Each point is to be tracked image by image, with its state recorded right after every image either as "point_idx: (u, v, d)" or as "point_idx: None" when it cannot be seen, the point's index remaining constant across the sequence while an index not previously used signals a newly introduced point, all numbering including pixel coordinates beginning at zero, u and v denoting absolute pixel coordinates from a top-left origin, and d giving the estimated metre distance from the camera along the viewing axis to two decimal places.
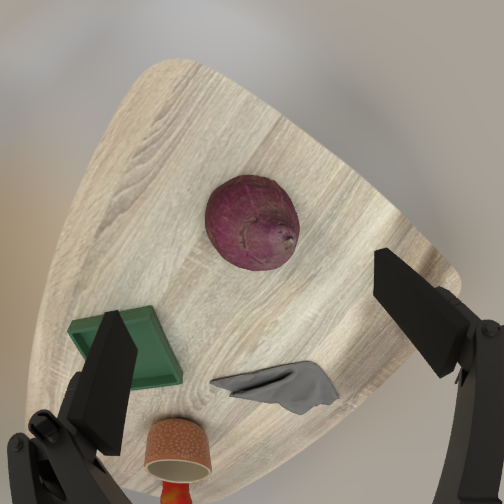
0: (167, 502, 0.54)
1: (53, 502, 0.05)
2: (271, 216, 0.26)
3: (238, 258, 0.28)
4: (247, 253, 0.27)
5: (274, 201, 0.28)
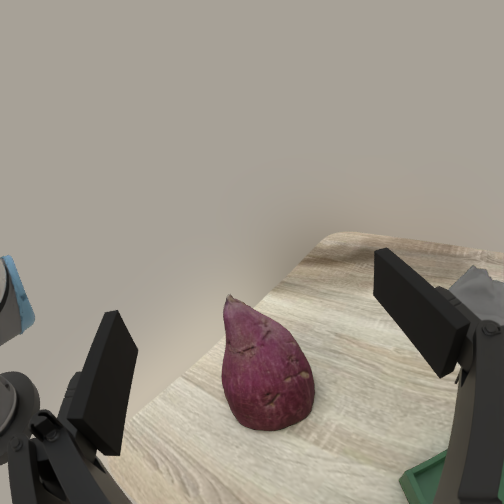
0: None
1: (53, 502, 0.05)
2: None
3: (273, 357, 0.26)
4: (259, 344, 0.26)
5: None
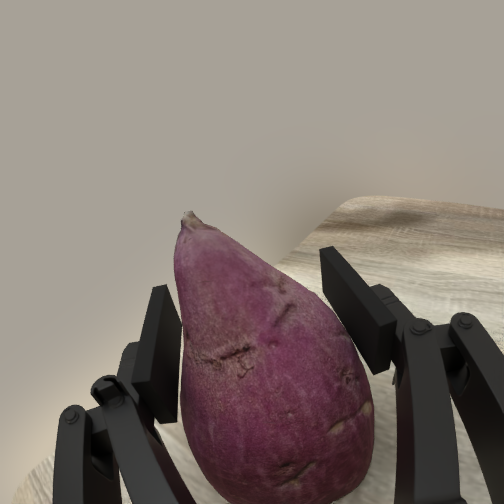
0: None
1: (99, 482, 0.06)
2: None
3: (304, 377, 0.09)
4: (266, 339, 0.09)
5: None
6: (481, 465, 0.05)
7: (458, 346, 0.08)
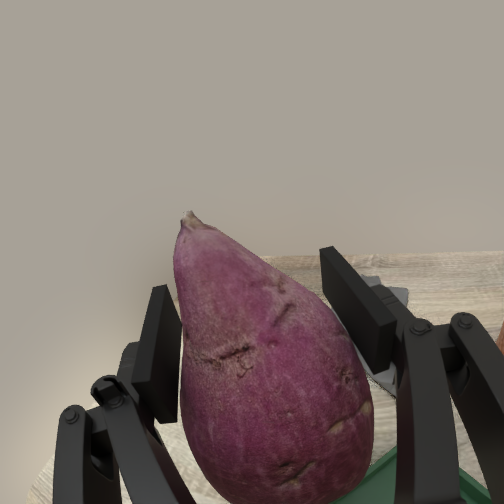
0: None
1: (99, 482, 0.06)
2: None
3: (304, 376, 0.09)
4: (265, 339, 0.09)
5: None
6: (481, 466, 0.05)
7: (458, 346, 0.08)
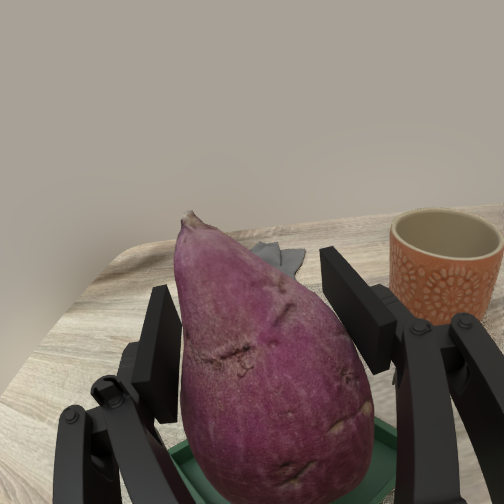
0: None
1: (99, 482, 0.06)
2: None
3: (304, 376, 0.09)
4: (266, 339, 0.09)
5: None
6: (481, 466, 0.05)
7: (458, 346, 0.08)
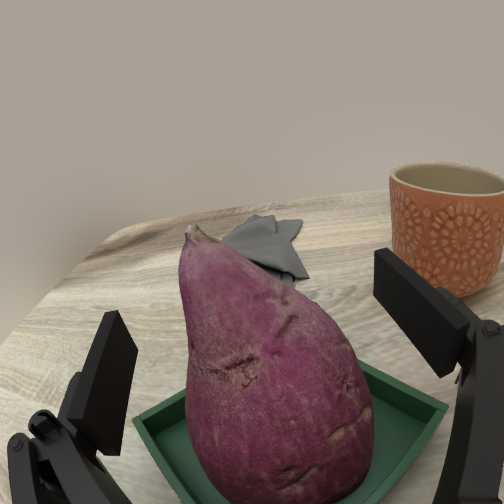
0: None
1: (53, 502, 0.05)
2: None
3: (306, 385, 0.09)
4: (269, 350, 0.10)
5: None
6: None
7: None
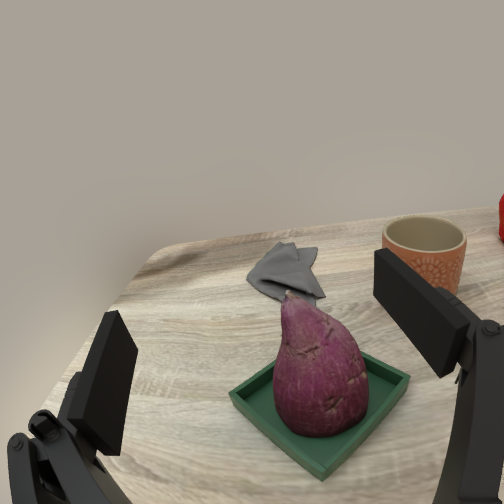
0: None
1: (53, 502, 0.05)
2: (282, 332, 0.25)
3: (338, 358, 0.23)
4: (323, 343, 0.23)
5: None
6: None
7: None
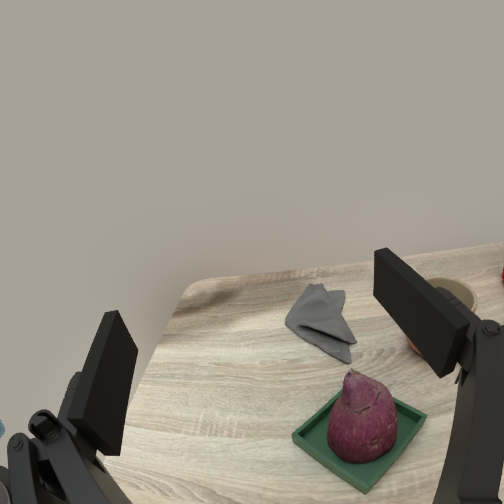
0: None
1: (53, 502, 0.05)
2: (342, 395, 0.31)
3: (382, 412, 0.28)
4: (373, 404, 0.29)
5: (336, 403, 0.33)
6: None
7: None
